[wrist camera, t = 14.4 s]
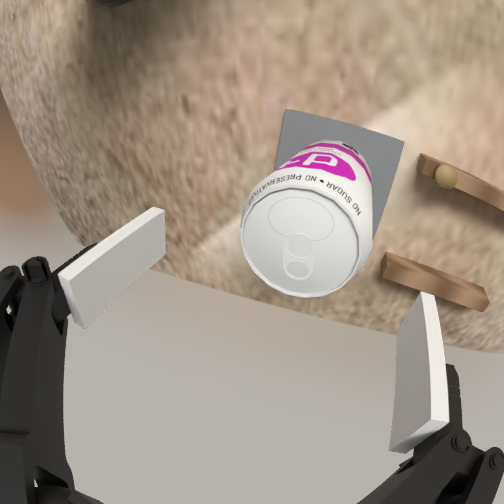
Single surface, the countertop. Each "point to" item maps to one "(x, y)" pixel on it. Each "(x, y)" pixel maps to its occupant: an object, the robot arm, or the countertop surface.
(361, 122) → the countertop surface
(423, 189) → the countertop surface
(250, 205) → the supplement can
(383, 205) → the mat
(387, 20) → the countertop surface
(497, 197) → the cradle
